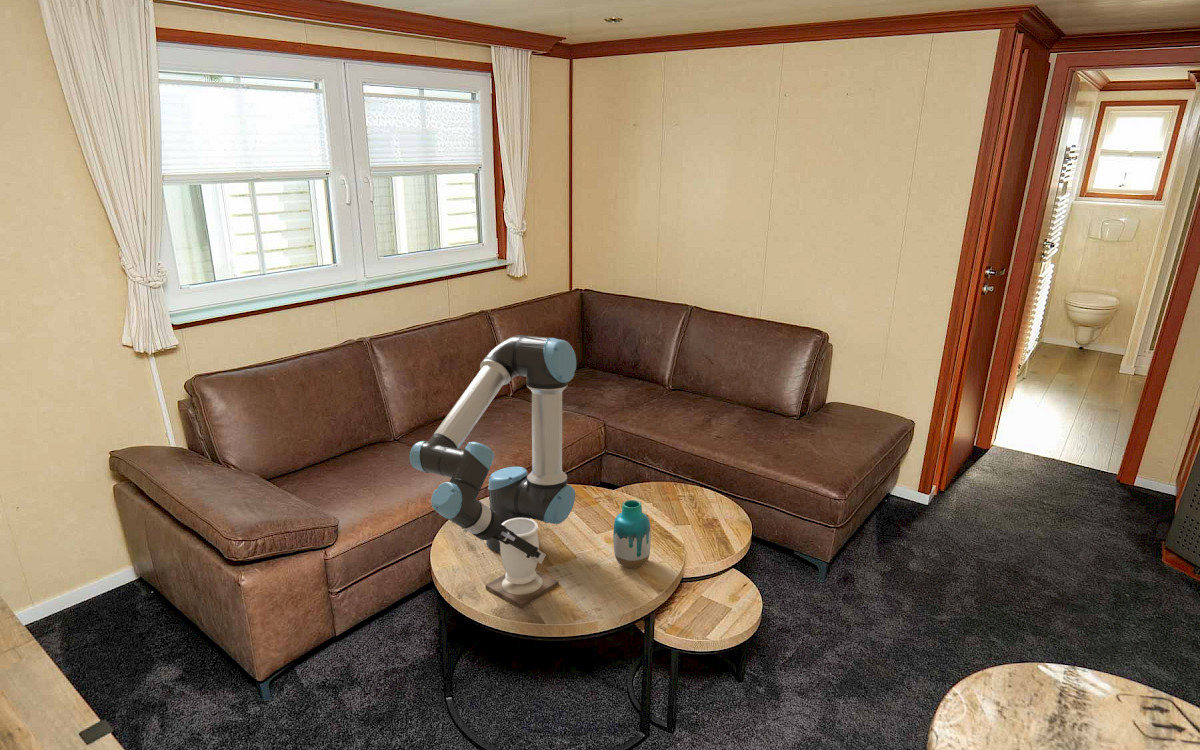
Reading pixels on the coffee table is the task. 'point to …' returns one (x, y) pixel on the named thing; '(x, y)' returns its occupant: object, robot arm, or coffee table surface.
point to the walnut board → (522, 589)
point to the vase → (632, 535)
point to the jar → (519, 551)
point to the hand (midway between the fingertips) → (528, 552)
